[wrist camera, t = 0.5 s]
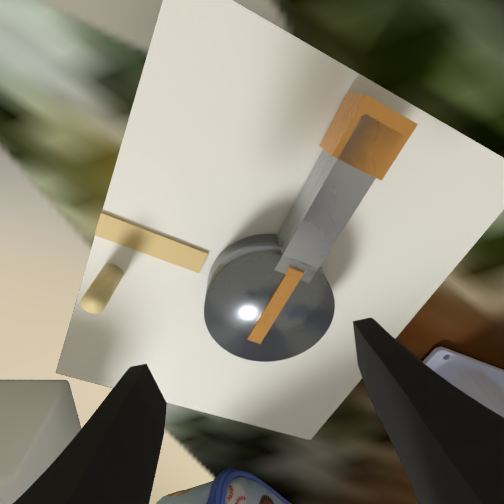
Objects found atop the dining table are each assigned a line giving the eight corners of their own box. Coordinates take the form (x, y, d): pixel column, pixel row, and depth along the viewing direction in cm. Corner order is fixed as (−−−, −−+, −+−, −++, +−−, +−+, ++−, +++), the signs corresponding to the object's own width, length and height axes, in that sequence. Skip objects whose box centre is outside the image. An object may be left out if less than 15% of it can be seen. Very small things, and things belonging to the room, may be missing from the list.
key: (289, 344, 23) (296, 377, 20) (190, 311, 21) (184, 342, 18) (427, 137, 17) (460, 147, 14) (305, 68, 15) (318, 67, 13)
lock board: (518, 170, 19) (584, 191, 15) (307, 428, 28) (318, 479, 25) (176, -28, 14) (157, -63, 11) (62, 361, 24) (31, 412, 20)
